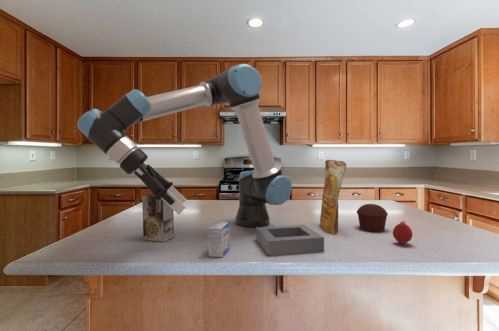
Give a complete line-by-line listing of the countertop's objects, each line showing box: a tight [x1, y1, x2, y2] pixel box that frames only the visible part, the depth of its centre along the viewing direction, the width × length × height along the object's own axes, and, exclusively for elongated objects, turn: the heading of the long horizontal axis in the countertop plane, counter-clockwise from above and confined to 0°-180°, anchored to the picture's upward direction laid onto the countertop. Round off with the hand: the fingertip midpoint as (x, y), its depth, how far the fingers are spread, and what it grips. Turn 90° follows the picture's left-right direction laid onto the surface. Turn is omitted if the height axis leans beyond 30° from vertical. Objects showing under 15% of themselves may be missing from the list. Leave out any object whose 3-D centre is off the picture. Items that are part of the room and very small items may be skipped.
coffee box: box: [141, 192, 175, 243], centre depth 100 cm, size 9×6×16 cm
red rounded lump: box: [392, 220, 413, 245], centre depth 93 cm, size 6×6×8 cm
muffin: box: [356, 203, 389, 233], centre depth 112 cm, size 12×11×10 cm
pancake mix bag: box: [319, 159, 347, 235], centre depth 112 cm, size 7×19×28 cm, turn 179°
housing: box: [255, 224, 325, 257], centre depth 92 cm, size 16×18×4 cm
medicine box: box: [207, 221, 230, 258], centre depth 85 cm, size 8×4×9 cm, turn 169°
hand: (183, 206), depth 83 cm, fingers open, 13 cm apart
